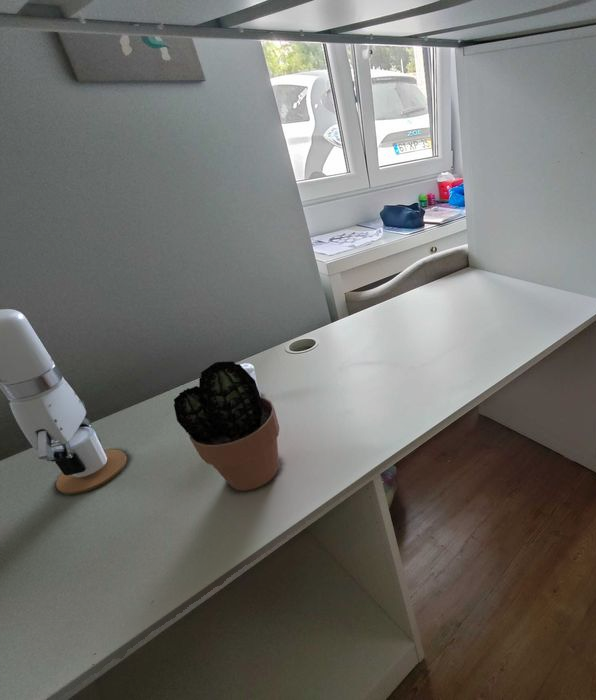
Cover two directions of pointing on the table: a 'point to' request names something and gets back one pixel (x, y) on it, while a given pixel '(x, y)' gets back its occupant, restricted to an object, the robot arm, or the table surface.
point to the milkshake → (250, 372)
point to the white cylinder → (86, 450)
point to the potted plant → (231, 425)
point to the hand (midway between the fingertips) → (83, 457)
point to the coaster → (93, 475)
